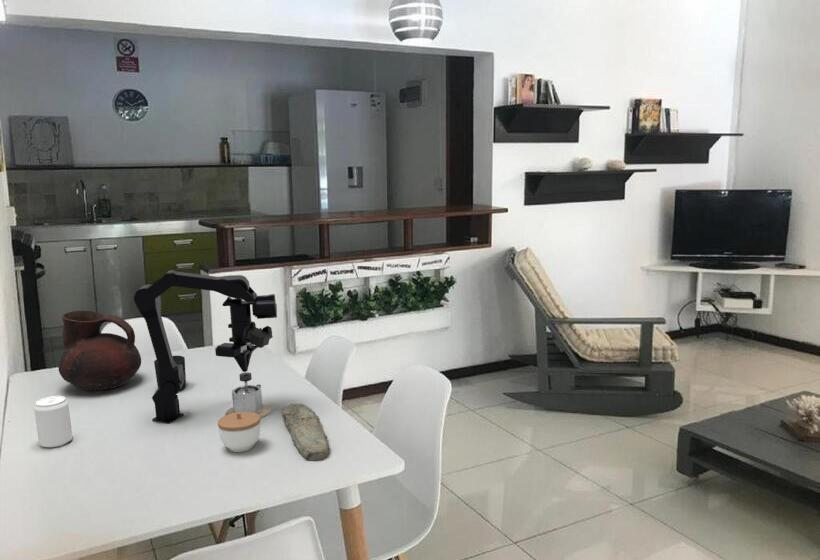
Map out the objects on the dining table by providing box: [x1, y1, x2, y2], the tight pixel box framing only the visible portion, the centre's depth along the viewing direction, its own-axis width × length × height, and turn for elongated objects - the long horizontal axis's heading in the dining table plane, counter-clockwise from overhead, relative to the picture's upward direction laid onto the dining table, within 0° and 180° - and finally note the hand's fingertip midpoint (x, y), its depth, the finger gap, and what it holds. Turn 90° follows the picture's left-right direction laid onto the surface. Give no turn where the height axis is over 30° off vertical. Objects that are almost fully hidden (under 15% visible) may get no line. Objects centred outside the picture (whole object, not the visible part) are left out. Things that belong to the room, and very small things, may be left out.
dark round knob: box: [237, 371, 256, 394], centre depth 200 cm, size 5×5×6 cm
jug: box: [58, 310, 142, 391], centre depth 227 cm, size 25×25×25 cm
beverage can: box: [33, 395, 73, 448], centre depth 183 cm, size 8×8×12 cm
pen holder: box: [153, 355, 187, 392], centre depth 223 cm, size 9×9×10 cm
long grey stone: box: [281, 403, 330, 461], centre depth 185 cm, size 35×5×10 cm
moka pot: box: [224, 383, 271, 419], centre depth 201 cm, size 13×13×7 cm
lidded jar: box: [217, 412, 261, 453], centre depth 178 cm, size 11×11×9 cm
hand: (245, 371), depth 200 cm, fingers closed
